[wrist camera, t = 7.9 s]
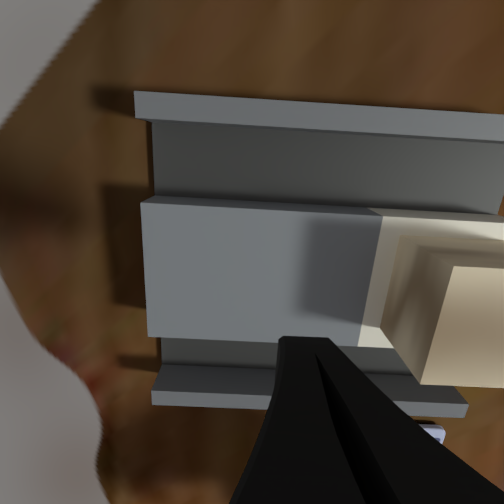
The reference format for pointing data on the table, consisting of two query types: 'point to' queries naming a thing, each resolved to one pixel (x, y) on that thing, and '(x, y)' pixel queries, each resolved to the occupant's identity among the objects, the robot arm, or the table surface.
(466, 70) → the table surface
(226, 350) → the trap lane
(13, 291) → the table surface
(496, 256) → the maple block
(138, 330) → the table surface
